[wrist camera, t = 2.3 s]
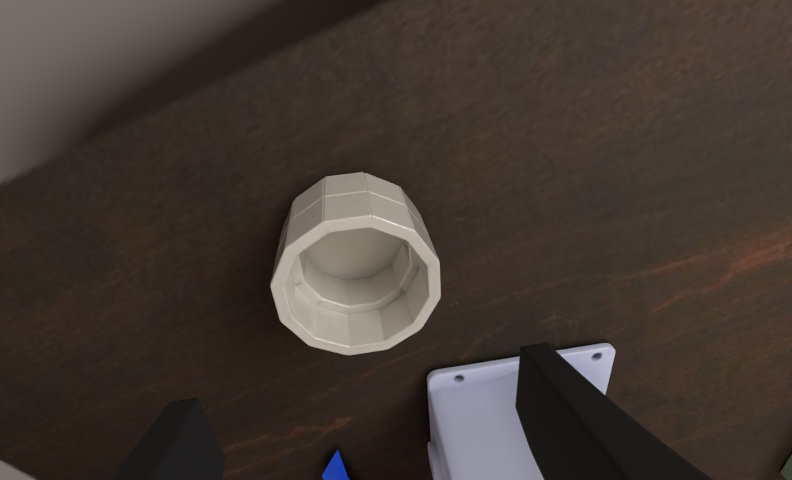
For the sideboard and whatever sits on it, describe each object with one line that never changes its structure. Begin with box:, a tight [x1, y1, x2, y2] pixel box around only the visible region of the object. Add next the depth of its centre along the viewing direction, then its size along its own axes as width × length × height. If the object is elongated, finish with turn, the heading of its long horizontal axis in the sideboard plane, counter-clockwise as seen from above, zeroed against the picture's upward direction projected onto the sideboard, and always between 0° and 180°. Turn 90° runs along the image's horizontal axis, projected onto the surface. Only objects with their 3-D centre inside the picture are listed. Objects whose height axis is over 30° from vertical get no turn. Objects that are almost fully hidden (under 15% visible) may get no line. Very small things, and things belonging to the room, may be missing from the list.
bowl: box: [270, 172, 441, 355], centre depth 15 cm, size 5×5×4 cm
